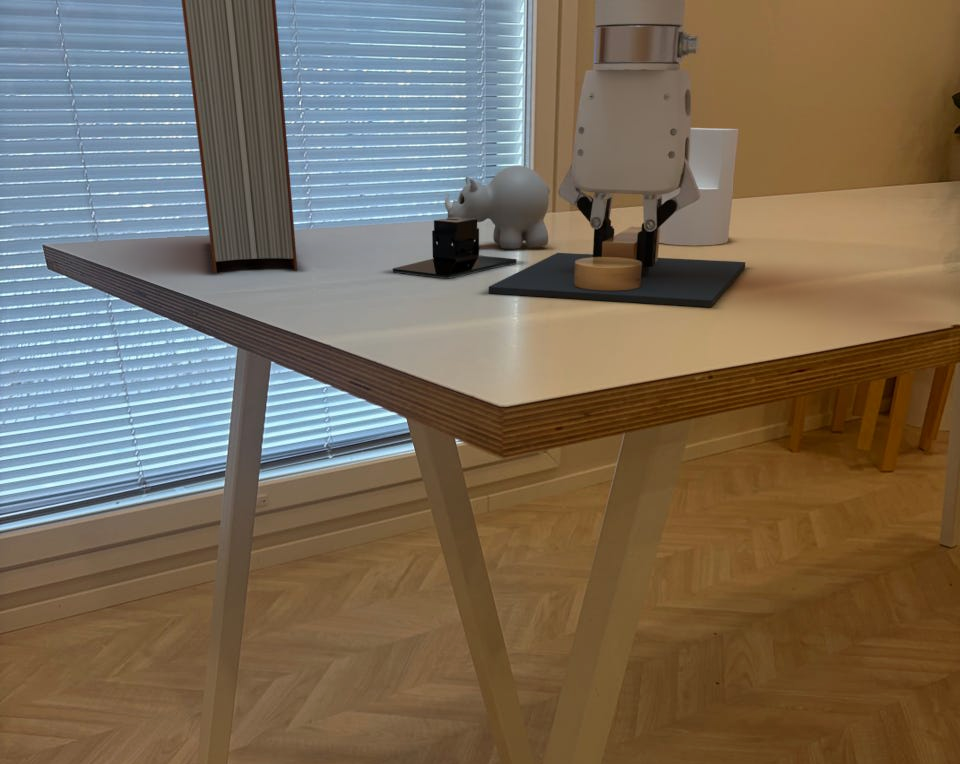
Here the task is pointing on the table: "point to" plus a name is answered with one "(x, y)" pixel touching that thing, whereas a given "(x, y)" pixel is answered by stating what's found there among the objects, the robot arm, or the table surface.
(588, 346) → the table surface
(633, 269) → the wooden disc with bar
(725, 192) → the cylinder with rectangular tab
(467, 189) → the round bodied animal figurine
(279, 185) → the book
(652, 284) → the mat
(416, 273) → the black block on plate
